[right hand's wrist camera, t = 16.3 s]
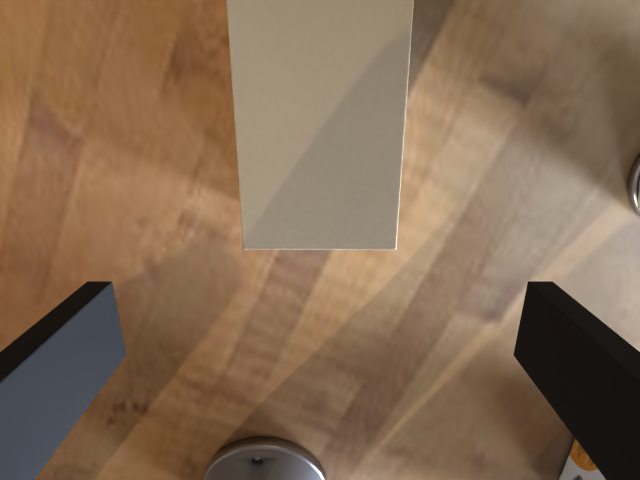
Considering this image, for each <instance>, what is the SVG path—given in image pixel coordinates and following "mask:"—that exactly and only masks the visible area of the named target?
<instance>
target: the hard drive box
mask: <svg viewBox="0 0 640 480" xmlns="http://www.w3.org/2000/svg"><path fill="white" fill-rule="evenodd" d="M559 480H606V479H605V478H604V476H603V475H602V474H601V472H600V471H599V470H598V468H597V467H596V466H595V464H594V463H593V462H592V460H591V459H590V458H589V456H588V455H587V453H586V452H585V451H584V449H583V448H582V447H581V445H580V444H579V443H578V441H577V440H576V439H575V440H574V443H573V446H572V449H571V451H570V454H569V457H568V459H567V462H566V464H565V467H564V469H563V472H562V474H561V475H560V478H559Z"/></svg>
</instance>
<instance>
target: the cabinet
mask: <svg viewBox="0 0 640 480" xmlns="http://www.w3.org/2000/svg"><path fill="white" fill-rule="evenodd" d="M226 4H227V19H228V33H229V48H230V62H231V77H232V92H233V106H234V121H235V136H236V150H237V165H238V180H239V194H240V209H241V223H242V238H243V249H244V250H396V243H397V229H398V215H399V201H400V187H401V173H402V159H403V144H404V130H405V116H406V102H407V88H408V74H409V60H410V46H411V32H412V18H413V4H414V0H226Z"/></svg>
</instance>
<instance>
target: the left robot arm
mask: <svg viewBox="0 0 640 480" xmlns="http://www.w3.org/2000/svg"><path fill="white" fill-rule="evenodd" d="M628 196H629V200H630V203H631V205H632V207H633V209H634V211H635V212H636V213H637V214H638V215H639V216H640V155H639V157H638V158H637V160H636V162H635V164H634V165H633V168H632V170H631V173H630V176H629V181H628Z"/></svg>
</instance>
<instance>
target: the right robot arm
mask: <svg viewBox="0 0 640 480" xmlns="http://www.w3.org/2000/svg"><path fill="white" fill-rule="evenodd" d="M125 356H126V351H125V346H124V341H123V336H122V330H121V325H120V320H119V315H118V310H117V305H116V300H115V295H114V290H113V285H112V282H87V283H85V284H84V285H83V286H82V287H80V288H79V289H78V290H77V291H75V292H74V293H73V294H72V295H70V296H69V297H68V298H67V299H65V300H64V301H63V302H62V303H61V304H59V305H58V306H57V307H56V308H54V309H53V310H52V311H51V312H49V313H48V314H47V315H46V316H44V317H43V318H42V319H41V320H39V321H38V322H37V323H36V324H35V325H33V326H32V327H31V328H30V329H28V330H27V331H26V332H25V333H23V334H22V335H21V336H20V337H18V338H17V339H16V340H15V341H14V342H12V343H11V344H10V345H9V346H7V347H6V348H5V349H4V350H2V351H1V352H0V480H34V479H35V478H36V476H37V475H38V474H39V472H40V471H41V470H42V468H43V467H44V466H45V464H46V463H47V462H48V460H49V459H50V458H51V456H52V455H53V453H54V452H55V451H56V449H57V448H58V447H59V445H60V444H61V443H62V441H63V440H64V439H65V437H66V436H67V435H68V433H69V432H70V431H71V429H72V428H73V426H74V425H75V424H76V422H77V421H78V420H79V418H80V417H81V416H82V414H83V413H84V412H85V410H86V409H87V408H88V406H89V405H90V404H91V402H92V401H93V399H94V398H95V397H96V395H97V394H98V393H99V391H100V390H101V389H102V387H103V386H104V385H105V383H106V382H107V381H108V379H109V378H110V377H111V375H112V374H113V372H114V371H115V370H116V368H117V367H118V366H119V364H120V363H121V362H122V360H123V359H124V358H125ZM514 356H515V358H516V359H517V360H518V362H519V363H520V364H521V366H522V367H523V368H524V370H525V371H526V372H527V374H528V375H529V377H530V378H531V379H532V381H533V382H534V383H535V385H536V386H537V387H538V389H539V390H540V391H541V393H542V394H543V395H544V397H545V398H546V399H547V401H548V402H549V404H550V405H551V406H552V408H553V409H554V410H555V412H556V413H557V414H558V416H559V417H560V418H561V420H562V421H563V422H564V424H565V425H566V426H567V428H568V429H569V431H570V432H571V433H572V435H573V436H574V437H575V439H576V440H577V441H578V443H579V444H580V445H581V447H582V448H583V449H584V451H585V452H586V453H587V455H588V456H589V458H590V459H591V460H592V462H593V463H594V464H595V466H596V467H597V468H598V470H599V471H600V472H601V474H602V475H603V476H604V478H605V479H606V480H640V352H639V351H638V350H636V349H635V348H634V347H633V346H631V345H630V344H629V343H628V342H626V341H625V340H624V339H623V338H622V337H620V336H619V335H618V334H617V333H615V332H614V331H613V330H612V329H610V328H609V327H608V326H607V325H605V324H604V323H603V322H602V321H601V320H599V319H598V318H597V317H596V316H594V315H593V314H592V313H591V312H589V311H588V310H587V309H586V308H584V307H583V306H582V305H581V304H579V303H578V302H577V301H576V300H575V299H573V298H572V297H571V296H570V295H568V294H567V293H566V292H565V291H563V290H562V289H561V288H560V287H558V286H557V285H556V284H555V283H553V282H528V285H527V290H526V295H525V300H524V305H523V310H522V315H521V320H520V325H519V330H518V336H517V341H516V346H515V351H514ZM203 480H327V478H326V474H325V472H324V469H323V467H322V465H321V464H320V463H319V461H318V460H317V459H316V458H315V457H314V456H313V455H312V454H311V453H310V452H308V451H307V450H306V449H304V448H302V447H301V446H299V445H297V444H294V443H292V442H289V441H286V440H282V439H277V438H268V437H257V438H249V439H244V440H240V441H237V442H234V443H232V444H230V445H228V446H226V447H225V448H223V449H222V450H220V451H219V452H218V453H217V454H216V455H215V456H214V457H213V458H212V459H211V461H210V462H209V464H208V466H207V468H206V471H205V475H204V478H203Z"/></svg>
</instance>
